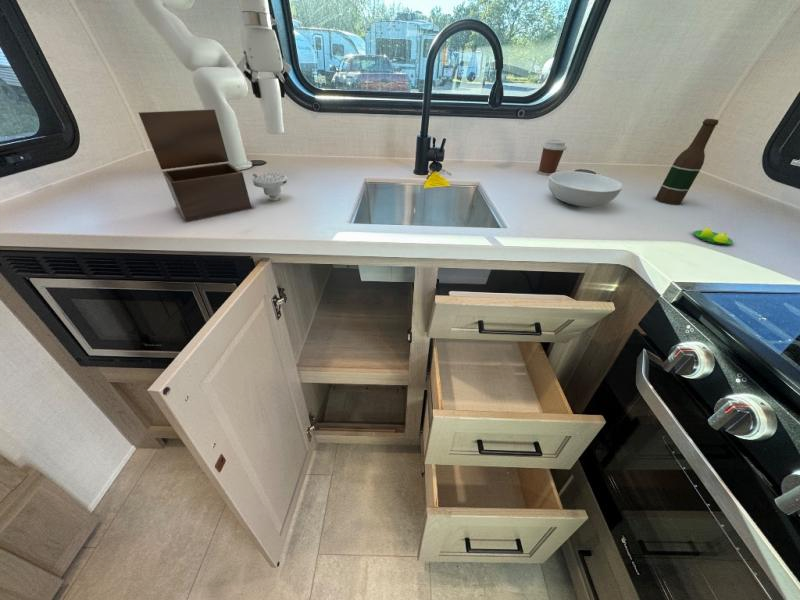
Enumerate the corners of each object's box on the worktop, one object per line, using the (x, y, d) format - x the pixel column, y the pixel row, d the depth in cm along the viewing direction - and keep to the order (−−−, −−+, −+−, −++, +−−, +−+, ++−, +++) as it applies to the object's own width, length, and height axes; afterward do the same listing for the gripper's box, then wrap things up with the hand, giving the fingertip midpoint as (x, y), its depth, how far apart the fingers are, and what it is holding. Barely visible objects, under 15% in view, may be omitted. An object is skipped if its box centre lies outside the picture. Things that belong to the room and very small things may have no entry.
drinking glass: (291, 132, 106) (283, 78, 97) (277, 135, 101) (267, 79, 92) (275, 130, 108) (266, 77, 99) (260, 133, 104) (250, 77, 94)
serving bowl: (529, 194, 106) (535, 173, 102) (574, 188, 113) (582, 168, 109) (579, 217, 91) (588, 193, 87) (628, 209, 98) (638, 186, 94)
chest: (251, 208, 90) (242, 172, 84) (186, 221, 81) (170, 182, 75) (238, 196, 97) (228, 162, 91) (176, 207, 88) (162, 171, 82)
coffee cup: (562, 174, 129) (573, 142, 122) (549, 177, 125) (559, 144, 118) (543, 169, 135) (552, 138, 128) (530, 171, 131) (538, 139, 124)
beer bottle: (673, 206, 101) (721, 121, 87) (649, 198, 107) (690, 117, 93) (686, 203, 104) (734, 120, 90) (662, 195, 110) (703, 117, 96)
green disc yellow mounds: (698, 242, 80) (705, 232, 78) (688, 230, 86) (694, 220, 84) (737, 248, 78) (745, 238, 76) (723, 235, 84) (730, 225, 82)
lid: (214, 109, 83) (209, 106, 86) (138, 112, 74) (135, 109, 77) (228, 161, 91) (223, 157, 94) (161, 169, 82) (158, 164, 85)
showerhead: (261, 169, 96) (291, 172, 94) (266, 193, 100) (295, 196, 99) (243, 177, 88) (275, 180, 87) (249, 203, 93) (280, 206, 91)
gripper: (281, 25, 95) (291, 95, 106) (220, 19, 86) (237, 96, 97) (292, 25, 90) (301, 98, 101) (228, 18, 81) (245, 99, 92)
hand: (270, 96), depth 99 cm, fingers closed on drinking glass, 6 cm apart
